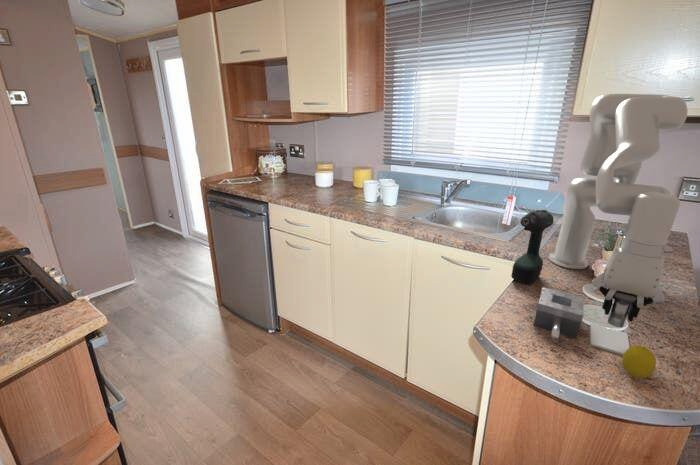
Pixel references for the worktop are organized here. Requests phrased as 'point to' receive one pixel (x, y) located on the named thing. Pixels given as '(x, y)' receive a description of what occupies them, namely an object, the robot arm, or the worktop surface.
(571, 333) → the block
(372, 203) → the worktop surface
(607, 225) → the worktop surface
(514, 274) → the power drill
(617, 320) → the dark gray knob
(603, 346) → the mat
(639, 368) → the lemon
